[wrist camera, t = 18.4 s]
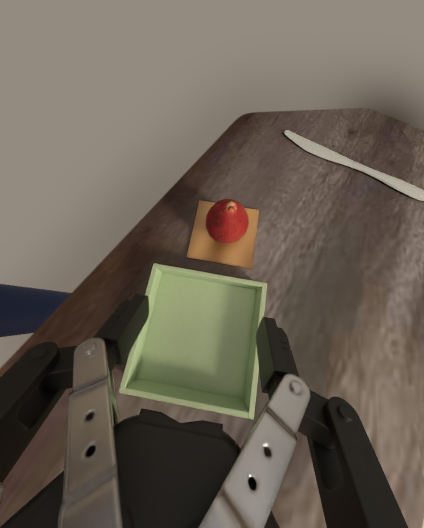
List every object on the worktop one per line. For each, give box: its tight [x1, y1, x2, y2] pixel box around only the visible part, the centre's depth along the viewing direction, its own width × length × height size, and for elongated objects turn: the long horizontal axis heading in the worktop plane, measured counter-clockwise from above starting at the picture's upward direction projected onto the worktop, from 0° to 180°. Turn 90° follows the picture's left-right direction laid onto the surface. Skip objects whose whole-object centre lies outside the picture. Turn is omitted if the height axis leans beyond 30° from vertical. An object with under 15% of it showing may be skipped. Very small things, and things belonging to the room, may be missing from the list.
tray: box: [119, 263, 267, 419], centre depth 23 cm, size 15×15×3 cm
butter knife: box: [285, 130, 424, 201], centre depth 32 cm, size 1×27×3 cm
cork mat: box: [187, 200, 259, 269], centre depth 28 cm, size 10×10×1 cm
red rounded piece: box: [206, 199, 249, 243], centre depth 24 cm, size 6×6×8 cm
